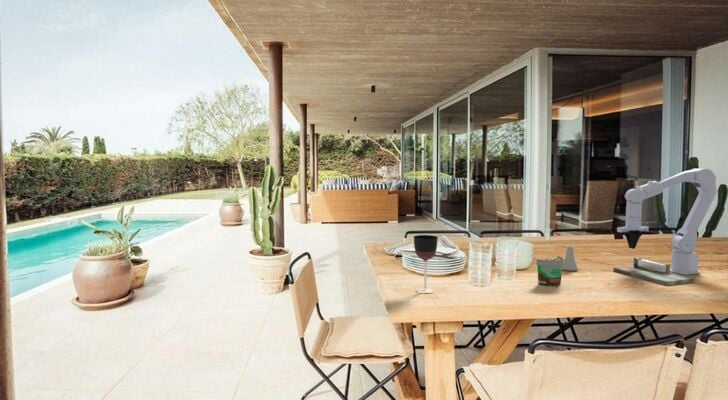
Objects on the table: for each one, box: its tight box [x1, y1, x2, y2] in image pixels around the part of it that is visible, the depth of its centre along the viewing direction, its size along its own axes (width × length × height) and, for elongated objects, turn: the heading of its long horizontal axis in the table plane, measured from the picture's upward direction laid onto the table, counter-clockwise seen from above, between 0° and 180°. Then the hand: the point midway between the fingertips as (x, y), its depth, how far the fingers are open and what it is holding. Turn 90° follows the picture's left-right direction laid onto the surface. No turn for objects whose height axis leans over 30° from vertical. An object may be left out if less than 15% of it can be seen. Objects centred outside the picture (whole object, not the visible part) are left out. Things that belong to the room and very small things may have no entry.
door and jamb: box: [613, 261, 694, 286], centre depth 182 cm, size 14×24×5 cm, turn 18°
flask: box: [562, 245, 579, 272], centre depth 195 cm, size 7×7×10 cm
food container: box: [535, 255, 565, 287], centre depth 171 cm, size 12×6×10 cm, turn 117°
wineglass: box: [413, 234, 439, 292], centre depth 163 cm, size 8×9×20 cm
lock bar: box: [632, 257, 666, 272], centre depth 187 cm, size 14×3×4 cm, turn 16°
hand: (632, 248), depth 193 cm, fingers closed
